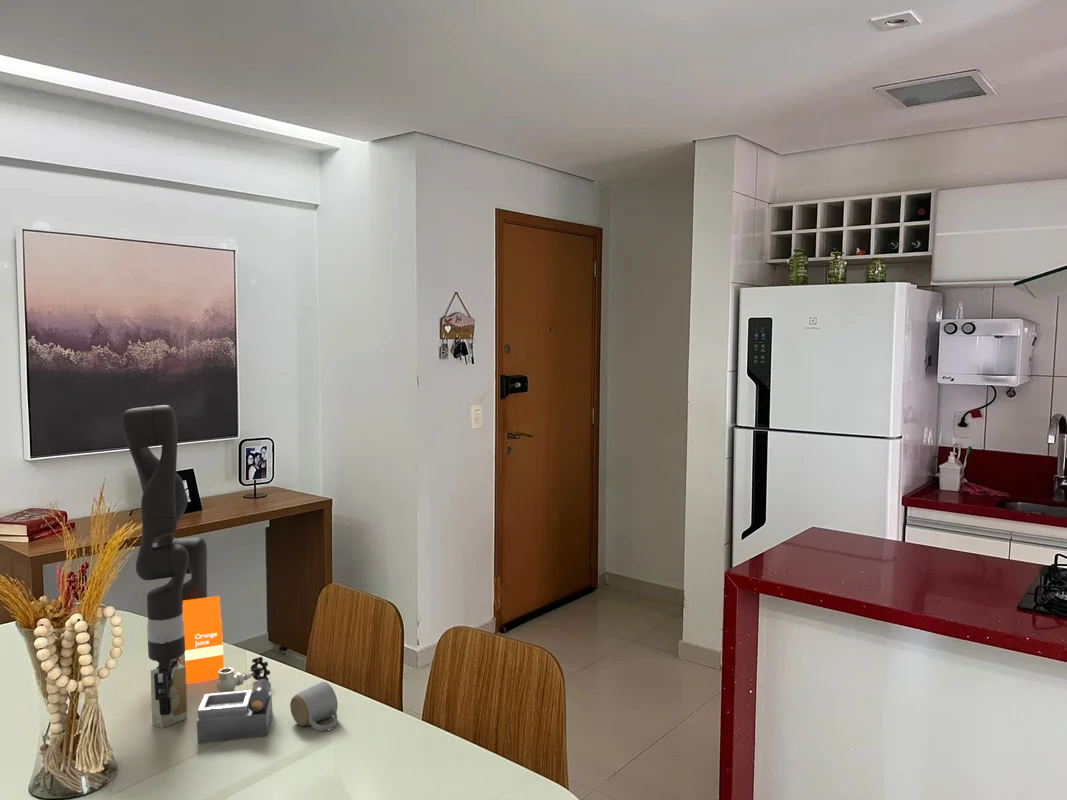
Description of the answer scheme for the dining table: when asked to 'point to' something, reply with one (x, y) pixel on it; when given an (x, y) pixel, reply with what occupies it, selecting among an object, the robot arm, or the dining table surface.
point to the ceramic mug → (315, 706)
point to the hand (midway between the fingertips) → (169, 706)
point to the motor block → (235, 714)
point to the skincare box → (176, 699)
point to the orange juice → (203, 639)
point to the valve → (240, 676)
